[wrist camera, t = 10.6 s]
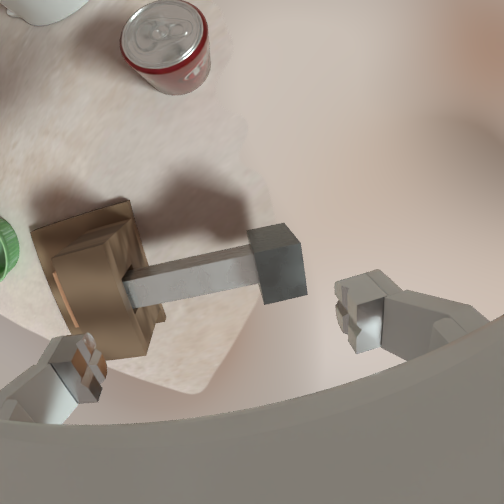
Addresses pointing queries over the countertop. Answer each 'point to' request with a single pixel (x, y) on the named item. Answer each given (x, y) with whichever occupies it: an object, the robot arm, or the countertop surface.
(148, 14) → the soda can
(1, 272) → the ramekin
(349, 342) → the robot arm
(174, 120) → the countertop surface
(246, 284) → the shaft
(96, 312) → the shaft stand
